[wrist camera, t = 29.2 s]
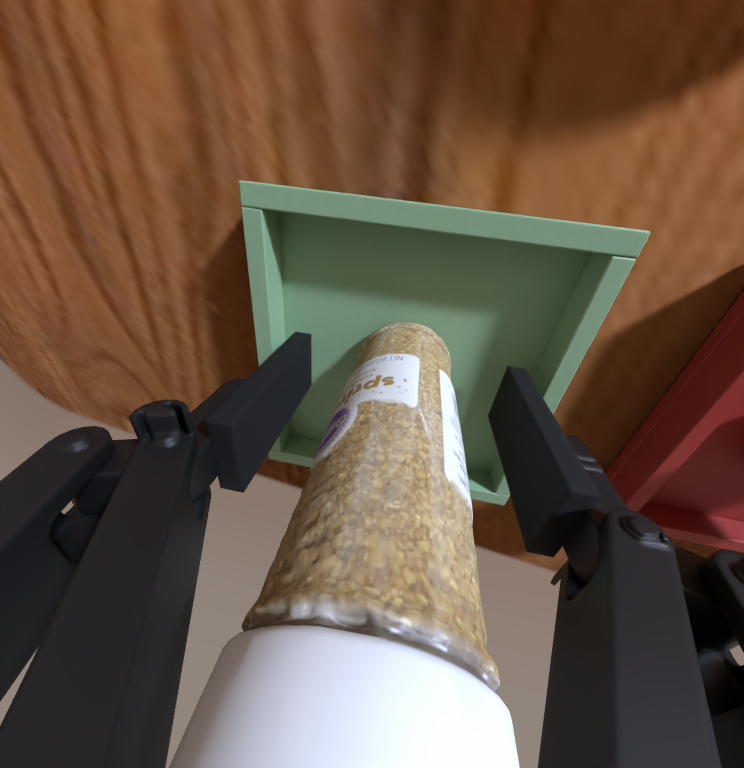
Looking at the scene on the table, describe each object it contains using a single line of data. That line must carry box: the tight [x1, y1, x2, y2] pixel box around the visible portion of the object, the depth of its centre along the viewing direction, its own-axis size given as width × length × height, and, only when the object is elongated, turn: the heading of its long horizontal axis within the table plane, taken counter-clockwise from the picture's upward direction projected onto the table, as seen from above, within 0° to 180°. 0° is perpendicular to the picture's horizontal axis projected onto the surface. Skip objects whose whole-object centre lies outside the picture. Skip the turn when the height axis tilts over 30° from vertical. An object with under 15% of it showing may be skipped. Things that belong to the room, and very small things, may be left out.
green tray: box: [239, 180, 650, 505], centre depth 14 cm, size 14×14×2 cm
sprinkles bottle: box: [169, 322, 519, 768], centre depth 9 cm, size 5×5×13 cm
